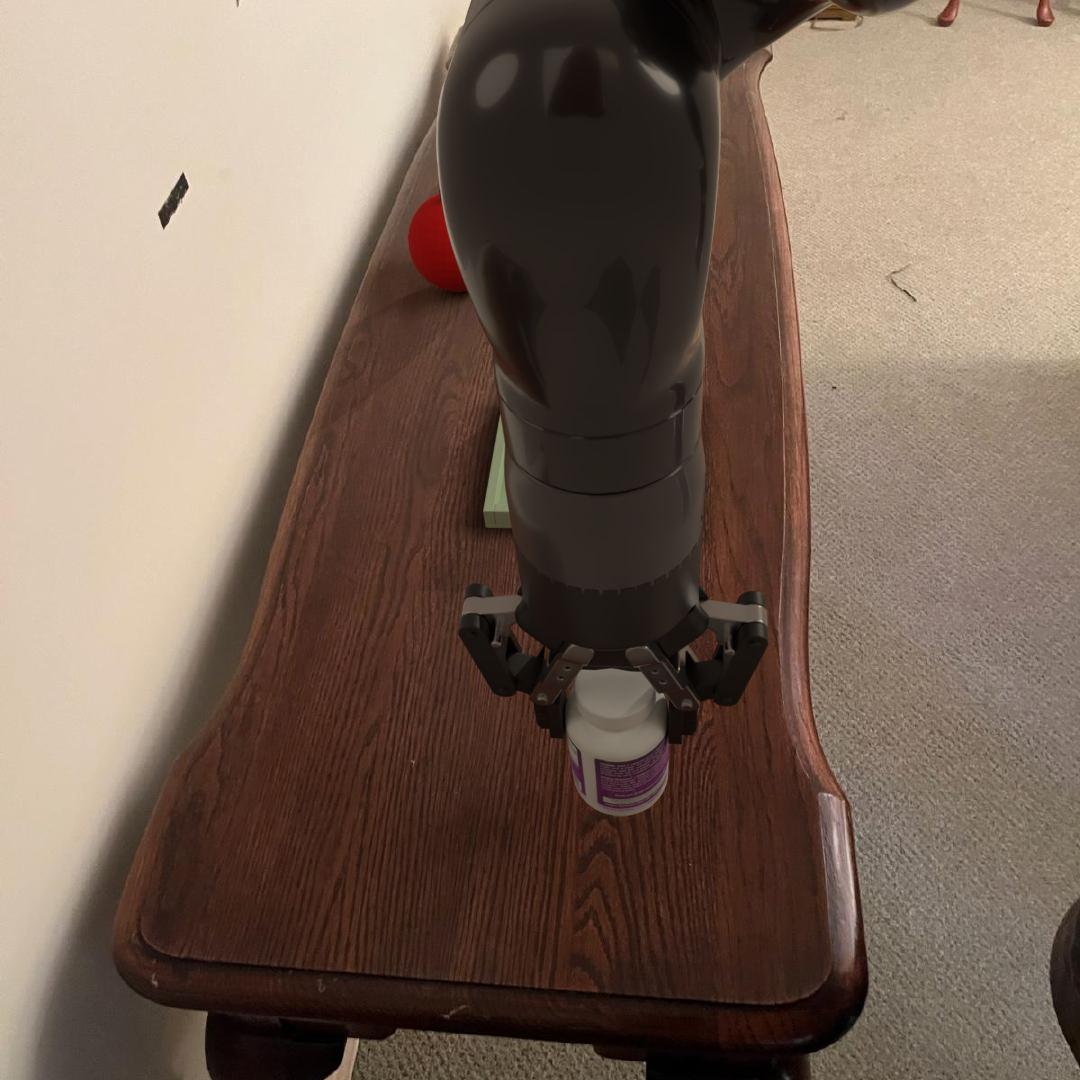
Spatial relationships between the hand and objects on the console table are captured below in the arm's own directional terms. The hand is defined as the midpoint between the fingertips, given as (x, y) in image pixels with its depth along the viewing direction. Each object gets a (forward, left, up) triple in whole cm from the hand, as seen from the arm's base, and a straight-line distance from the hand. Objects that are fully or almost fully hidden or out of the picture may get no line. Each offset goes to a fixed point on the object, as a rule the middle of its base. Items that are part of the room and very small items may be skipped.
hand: (617, 725), depth 52 cm
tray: (+3, -29, -10) cm, 31 cm away
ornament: (+17, -53, -10) cm, 57 cm away
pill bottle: (0, 0, -6) cm, 6 cm away
